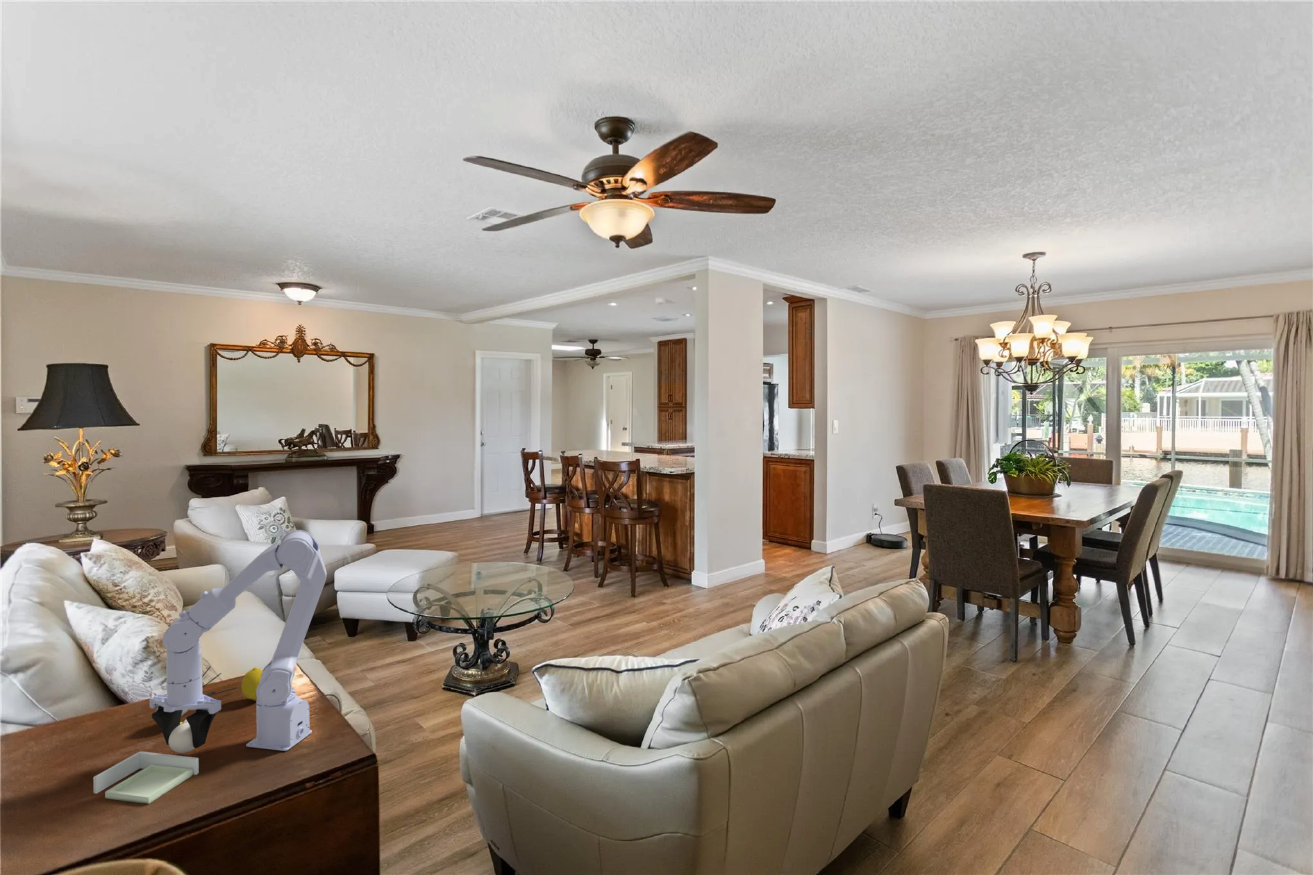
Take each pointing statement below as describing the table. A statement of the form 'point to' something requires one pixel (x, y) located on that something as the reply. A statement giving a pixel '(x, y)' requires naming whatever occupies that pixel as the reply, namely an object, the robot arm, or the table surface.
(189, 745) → the ball
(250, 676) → the lemon
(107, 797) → the resting spot
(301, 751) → the table surface
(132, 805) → the table surface
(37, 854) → the table surface
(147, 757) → the acrylic walls
